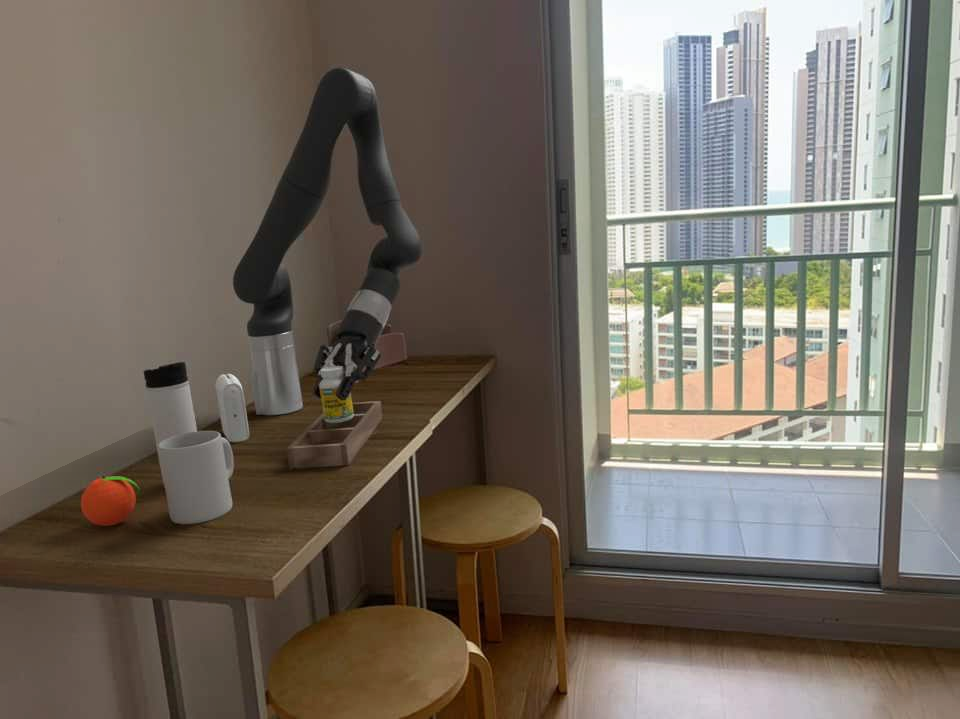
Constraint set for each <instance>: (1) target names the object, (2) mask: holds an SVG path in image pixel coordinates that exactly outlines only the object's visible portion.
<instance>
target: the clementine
mask: <svg viewBox="0 0 960 719" xmlns="http://www.w3.org/2000/svg"><path fill="white" fill-rule="evenodd" d="M131 484H133V485H134V486H135V487H136V488H137V489H138V490H139V491H140V492H141V489H140V487H139V486H138V484H137V483H136V482H134V481H133V480H132V479H130V478H128V477H125V476H120V475H118V476H117V475H116V476H115V475H108V476H104V475H103V476H102V477H99V478H97V479H95V480H93V481H92V482H91V483H89V484H88V485H87V487H86V488H85V490H84V491H83V493H82V494H81V499H80V505H81V506H80V507H81V511H82V513H83V515H84V517H85V518H86V519H87V520H88V521H89V522H92V523H93V524H94V525H98V526H100V527H110V526H115V525H118V524H120V523H122V522H124V521H125V520H126V519H128V517H129V516H131V514H132V512H133V510H134V509H135V505H136V494H135V490H134V487H133V486H132V485H131Z"/></svg>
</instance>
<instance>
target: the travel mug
mask: <svg viewBox="0 0 960 719" xmlns="http://www.w3.org/2000/svg"><path fill="white" fill-rule="evenodd" d="M187 374H188V373H187V366H186V362H185V361H183V362H181V361H178V362H174V363H170V364H166V365H165V364H164V365H162V366H161V365H160V366H158V368H153V369H149V368H147V369H145V370H143V377H144V380H145V390H146V395H147V401H148V408H149V412H150V417H151V423H152V428H153V434H154V441H155V444H156V445H155V446H156V452H157V457H158V462H159V466H160V467H159V468H160V472H161V477H162V483H163V484H162V485H163V488H165V484H164V479H163V473H162V468H161V462H160V457H159V451H158V445H159V443H160V442H162V441H164V440H166V439H168V438H170V437H173V436H177V435H180V434H185V433H190V432H197V431H198V429H197V428H198V427H197V424H196V423H197V422H196V417H195V411H194V406H193V400H192V394H191V388H190V384H189V382H190V381H189V378H188V375H187Z"/></svg>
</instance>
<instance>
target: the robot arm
mask: <svg viewBox="0 0 960 719" xmlns="http://www.w3.org/2000/svg"><path fill="white" fill-rule="evenodd" d="M310 104H311V105H310V107H309V112H308V114H307V117H306V120H305V123H304V126H303V129H302V132H301V134H300V136H299V138H298V140H297V142H296V145H295V147H294V149H293V152H292V154H291V156H290V158H289V160H288V163H287V165H286V166H285V169H284V170H283V173H282V174H281V177H280V179H279V181H278V183H277V186H276V188H275V190H274V193H273V195H272V198H271V200H270V202H269V205H268V207H267V209H266V211H265V214H264V215H263V218H262V220H261V222H260V225H259V227H258V229H257V231H256V233H255V235H254V237H253V238H252V241H251V243H250V244H249V246H248V247H247V249H246V251H245V253H244V254H243V256H242V258H241V259H240V261H239V262H238V265H237V266H236V268H235V270H234V273H233V276H232V287H233V290H234V293H235V295H236V297H238V298H237V299H239V300H240V301H242V302H243V303H246V304H250V305H251V304H252V305H253V313H252V314H251V315H252V316H251V317H250V319H249V320H248V321H247V323H246V331H247V338H248V343H249V349H250V356H251V363H252V370H251V371H250V373H249V374H250V380H251V387H252V394H253V401H254V406H255V413H256V414H255V415H264V416H277V415H285V414H291V413H294V412H296V411H299V410H301V409H302V408H303V407H304V406H303V398H302V397H303V396H302V391H301V384H300V377H299V376H300V375H299V369H298V363H297V361H298V360H297V354H296V347H295V341H294V334H293V333H294V332H293V327H292V322H293V318H294V304H293V292H292V284H291V279H290V274H289V271H288V270H287V268H286V266H285V264H284V263H283V259H284V257H285V256H286V255H287V252H288V250H289V249H290V247H291V246H292V245H293V244H294V243H295V241H296V240H297V239H298V238H299V237H300V236H301V235H302V233H303V232H304V231H305V230H306V229H307V228H308V227H309V225H310V224H311V223H312V221H313V220H314V219H315V217H316V215H317V214H318V212H319V210H320V208H321V206H322V204H323V201H324V199H325V197H326V195H327V193H328V190H329V187H330V182H331V173H332V161H333V154H334V150H335V146H336V143H337V141H338V139H339V137H340V134H341V133H342V131H343V129H344V127H345V125H346V126H347V127H348V129H349V132H350V134H351V137H352V138H353V142H354V145H355V150H356V161H357V164H356V165H357V170H356V171H357V182H358V186H359V187H358V188H359V191H360V196H361V199H362V202H363V204H364V208H365V211H366V214H367V217H368V220H369V222H370V223H371V224H372V225H374V226H381V227H382V228H383V229H384V231H385V233H386V235H387V236H386V237H383V238H382V239H380V240H379V241H377V243H376V244H375V246H374V248H373V249H372V251H371V253H370V256H369V261H368V265H367V269H366V275H365V277H364V279H363V281H362V283H361V284H360V287H359V289H358V290H357V292H356V295H355V296H353V299H352V300H351V302H350V304H349V306H348V308H347V310H346V312H345V315H344V316H343V318H342V319H341V320H342V322H341V324H340V326H339V328H338V340H337V341H336V342H335V343H334V345H333V346H332V347H329V346H328V347H327V345H326V344H322V345H321V346H320V348H319V350H318V353H317V356H316V359H315V361H314V364H313V365H314V366H313V368H312V371H313V372H314V373H315V374H316V375H317V376H318V377H317V380H316V382H315V384H314V386H313V388H312V395H313V396H314V397H316V398H317V399H321V395H320V388H319V384H320V382H321V381H322V380H323V378H322V376H321V369H323V368H326V367H331V366H335V365H334V364H333V360H334V362H335V363H336V364H337V366H342V367H343V368H344V367H346V374H344V375H345V376H343V379H342V381H341V384H340V386H339V388H338V390H337V392H336V396H337V397H338V398H339V399H340V400H346V399H347V397H348V396H349V395H350V392H351V393H352V391H353V388H354V386H355V384H357V383H358V382H359V381H362V382H365V381H367V379H368V378H369V376H370V375H371V373H372V370H373V368H374V367H375V365H376V364H377V362H378V360H379V359H380V357H381V353H380V352H379V351H378V350H377V349H376V348H374V347H375V345H376V343H377V341H378V339H379V337H380V335H381V332H382V330H383V328H384V326H385V324H387V321H388V319H389V316H390V313H391V310H392V307H393V305H394V303H395V300H396V299H397V296H398V295H399V294H398V293H399V291H400V288H401V282H400V279H399V278H398V275H399V273H400V271H401V270H403V269H406V268H407V267H410V266H412V265H414V264H416V263H417V262H419V260H420V258H421V256H422V251H423V250H422V249H423V245H422V240H421V238H420V234H419V233H418V231H417V230H416V227H415V226H414V225H413V223H412V221H411V219H410V217H409V216H408V214H407V213H406V212H405V210H404V208H403V206H402V202H401V199H400V195H399V192H398V190H397V186H396V182H395V180H394V176H393V172H392V170H391V167H390V163H389V159H388V155H387V150H386V143H385V141H384V140H385V139H384V134H383V128H382V123H381V116H380V109H379V108H380V107H379V104H378V98H377V92H376V90H375V86H374V85H373V83H372V82H371V81H370V80H369V79H368V78H366V77H365V76H364V75H362V74H361V73H357V72H355V71H352V70H350V69H349V68H345V67H334V68H331V69H330V70H328V71H327V72H325V73H324V75H323V76H322V77H321V79H320V81H319V83H318V86H317V88H316V90H315V93H314V96H313V98H312V101H311V103H310ZM365 366H366V369H365V371H364V372H363V371H362V370H363V368H364V367H365ZM373 371H374V370H373Z"/></svg>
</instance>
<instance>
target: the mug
mask: <svg viewBox="0 0 960 719" xmlns="http://www.w3.org/2000/svg"><path fill="white" fill-rule="evenodd" d="M158 451H159V457H160V462H161V468H162V473H163V477H162V480H163V479H164V484H165V487H164V488H165V490H164V491H165V495H166V499H167V506H168V514H169V518H170V521H171V522H173V523H175V524H178V525H179V524H180V525H196V524H203V523H206V522H209V521H210V522H211V521H213V520H215V519H218V518H221V517H222V516H224V515H226V514H228V513H229V512H230V511H232V509H233V508H232V507H233V499H232V493H231V492H232V491H231V487H230V482H229V479H230V478H231V477H232V475H233V472H234V465H235V464H234V460H235V459H234V455H233V450H232V447H231V443H230V441H229V440H228V439H227V438H226V437H222V434H221V433H220V432H218V431H215V430H199V431H198V430H197V432H190V433H185V434H180V435H177V436H173V437H170V438H168V439H166V440H164V441H162V442H160V443H159V445H158ZM158 451H157V452H158ZM159 457H158V458H159ZM160 462H159V463H160ZM161 468H160V469H161ZM162 473H161V474H162ZM164 484H163V485H164Z"/></svg>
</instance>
